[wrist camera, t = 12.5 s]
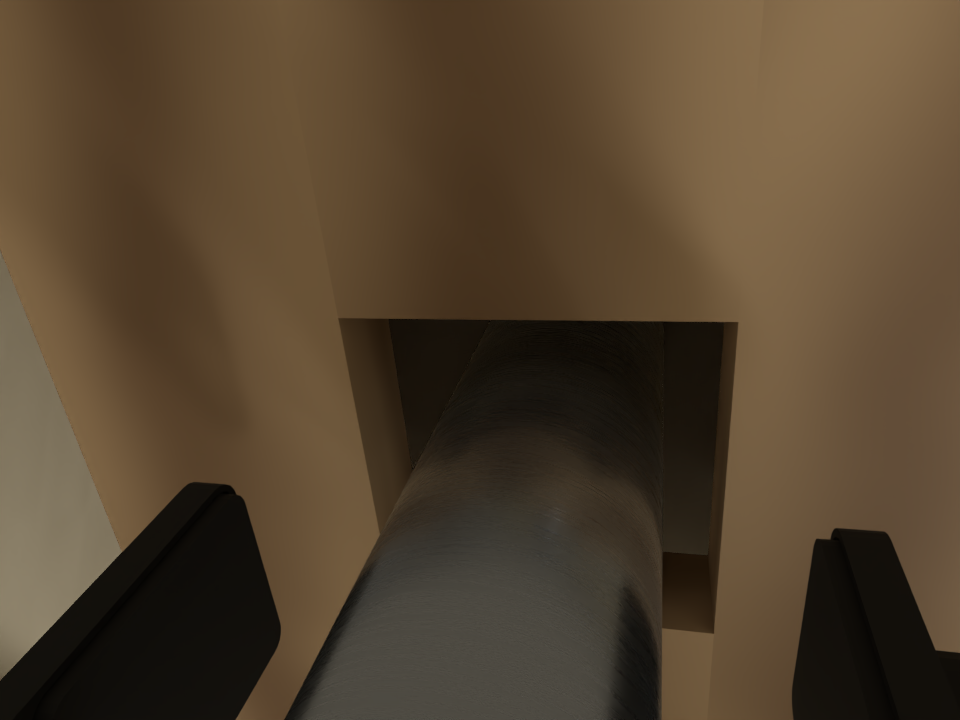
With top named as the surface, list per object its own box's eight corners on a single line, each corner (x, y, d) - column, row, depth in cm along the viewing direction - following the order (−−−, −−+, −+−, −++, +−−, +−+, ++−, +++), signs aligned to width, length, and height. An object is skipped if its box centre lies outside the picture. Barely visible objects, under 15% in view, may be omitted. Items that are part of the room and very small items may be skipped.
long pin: (665, 238, 17) (668, 1463, 3) (661, 389, 18) (650, 1591, 5) (497, 241, 18) (-104, 1175, 4) (509, 384, 19) (126, 1372, 6)
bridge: (1092, -108, 12) (1503, -192, 6) (920, 589, 20) (1034, 862, 13) (178, -6, 17) (-99, 2, 11) (311, 535, 24) (191, 725, 18)
